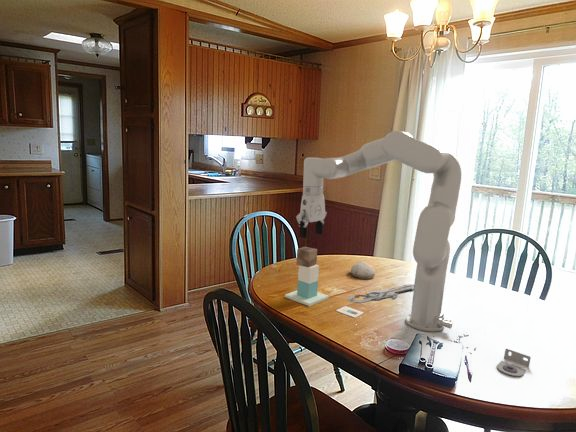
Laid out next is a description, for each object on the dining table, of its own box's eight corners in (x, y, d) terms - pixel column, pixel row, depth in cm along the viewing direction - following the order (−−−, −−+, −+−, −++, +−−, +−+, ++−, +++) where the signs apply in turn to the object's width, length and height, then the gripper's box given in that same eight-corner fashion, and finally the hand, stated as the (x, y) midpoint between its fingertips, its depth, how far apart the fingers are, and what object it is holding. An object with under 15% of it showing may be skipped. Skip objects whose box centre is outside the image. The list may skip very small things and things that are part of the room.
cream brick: (318, 280, 162) (319, 265, 161) (309, 283, 158) (310, 268, 157) (307, 276, 165) (308, 262, 164) (297, 279, 161) (298, 264, 160)
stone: (366, 289, 190) (378, 276, 188) (349, 276, 189) (361, 263, 186) (364, 277, 202) (375, 265, 200) (347, 265, 201) (358, 253, 199)
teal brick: (317, 295, 163) (318, 280, 162) (308, 299, 159) (309, 283, 158) (305, 291, 167) (306, 276, 165) (296, 294, 162) (297, 279, 161)
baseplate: (328, 298, 164) (328, 295, 163) (309, 306, 155) (309, 303, 154) (304, 289, 171) (304, 287, 171) (284, 297, 162) (284, 294, 162)
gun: (343, 301, 165) (360, 309, 157) (343, 295, 165) (361, 304, 156) (411, 284, 186) (430, 291, 178) (412, 279, 186) (431, 286, 178)
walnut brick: (316, 264, 162) (317, 249, 161) (308, 267, 157) (309, 251, 156) (304, 261, 165) (305, 246, 164) (296, 264, 161) (297, 249, 159)
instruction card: (364, 313, 151) (364, 312, 151) (354, 317, 147) (355, 317, 147) (345, 306, 156) (345, 305, 156) (335, 310, 152) (336, 310, 152)
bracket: (493, 371, 117) (495, 359, 116) (504, 359, 124) (505, 348, 124) (519, 381, 113) (521, 369, 112) (528, 368, 120) (530, 356, 120)
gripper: (306, 193, 150) (304, 240, 153) (334, 190, 163) (332, 234, 165) (290, 191, 154) (289, 237, 157) (318, 188, 167) (317, 231, 170)
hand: (311, 235), depth 161 cm, fingers open, 9 cm apart
